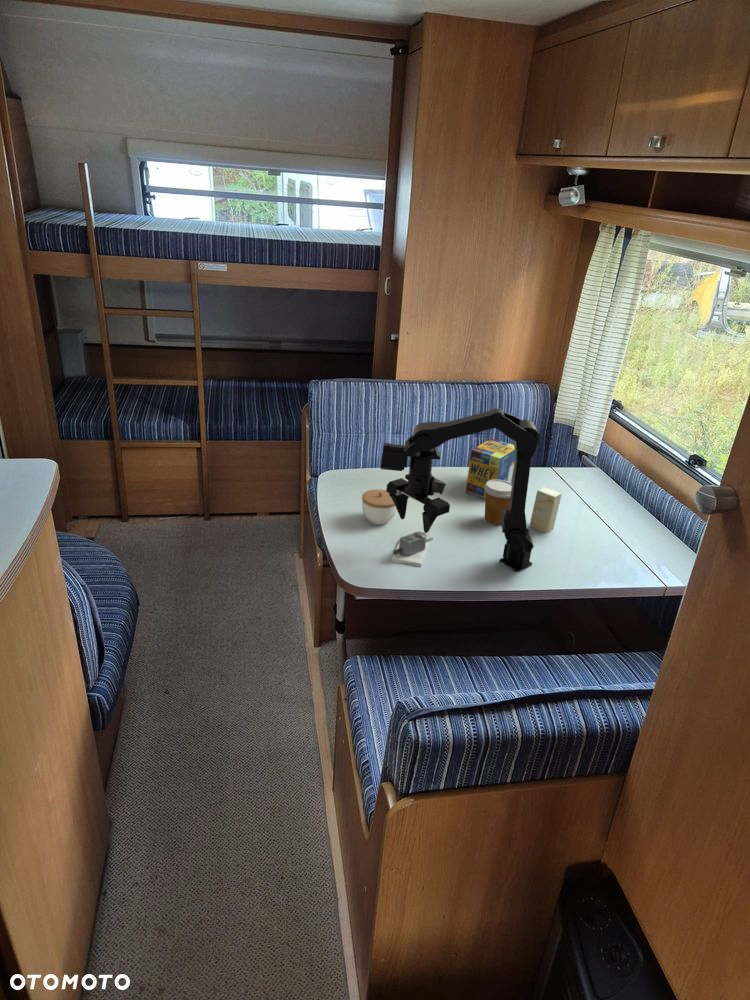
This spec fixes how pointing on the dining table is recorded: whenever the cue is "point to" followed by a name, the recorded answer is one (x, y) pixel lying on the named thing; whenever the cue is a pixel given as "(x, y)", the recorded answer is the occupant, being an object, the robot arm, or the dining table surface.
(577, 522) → the dining table surface
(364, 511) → the lidded jar
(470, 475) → the protein box
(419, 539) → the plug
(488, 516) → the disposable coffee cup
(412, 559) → the external hard drive
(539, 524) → the skincare box
